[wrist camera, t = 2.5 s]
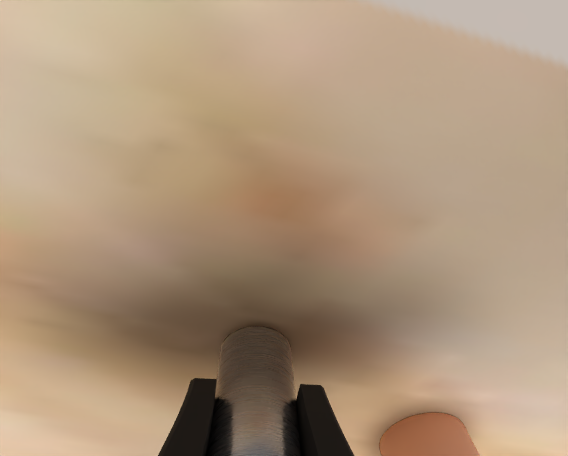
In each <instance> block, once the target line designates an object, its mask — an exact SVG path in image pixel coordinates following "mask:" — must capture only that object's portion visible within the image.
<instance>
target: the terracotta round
mask: <svg viewBox="0 0 568 456" xmlns="http://www.w3.org/2000/svg"><path fill="white" fill-rule="evenodd" d="M379 448H380V452H381V455H382V456H480V455H479V453H478V451H477V449H476V447H475V446H474V444H473V442H472V440H471V438H470V436H469V434H468V432H467V430H466V428H465V426H464V424H463V423H462V422H461V421H460V420H459V419H458V418H456V417H454V416H452V415H449V414H444V413H423V414H418V415H414V416H411V417H408V418H405V419H403V420H401V421H399V422H397V423H396V424H394V425H393V426H391V427H390V428H389V429H388V430H387V431H386V432H385V433H384V434H383V436H382V438H381V440H380V444H379Z"/></svg>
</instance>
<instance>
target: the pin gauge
mask: <svg viewBox="0 0 568 456" xmlns="http://www.w3.org/2000/svg"><path fill="white" fill-rule="evenodd" d="M207 456H301V449H300V439H299V428H298V417H297V407H296V396H295V386H294V375H293V364H292V354H291V346H290V344H289V342H288V340H287V339H286V338H285V337H284V336H283V335H282V334H281V333H279V332H278V331H275V330H273V329H270V328H266V327H256V326H255V327H247V328H243V329H240V330H237V331H235V332H233V333H232V334H231V335H229V336H228V337H227V338H226V339H225V340H224V342H223V344H222V346H221V350H220V358H219V366H218V373H217V383H216V393H215V402H214V410H213V418H212V426H211V434H210V439H209V445H208V452H207Z"/></svg>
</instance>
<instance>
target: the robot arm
mask: <svg viewBox="0 0 568 456" xmlns="http://www.w3.org/2000/svg"><path fill="white" fill-rule="evenodd" d="M216 383H217V379H200V378H195V379H193V380H191V382H190V385H189V389H188V392H187V394H186V397H185V400H184V402H183V405H182V407H181V409H180V412H179V414H178V416H177V418H176V421H175V423H174V425H173V427H172V429H171V431H170V433H169V435H168V437H167V439H166V441H165V443H164V445H163V447H162V449H161V451H160V453H159V455H158V456H207V452H208V445H209V439H210V434H211V426H212V418H213V410H214V402H215V393H216ZM296 407H297V417H298V428H299V439H300V449H301V456H354V454H353V452H352V450H351V448H350V446H349V444H348V442H347V440H346V438H345V436H344V434H343V432H342V430H341V428H340V426H339V423H338V421H337V419H336V417H335V415H334V412H333V410H332V408H331V405H330V403H329V401H328V398H327V396H326V393H325V391H324V388H323V387H322V386H321V385H306V384H300V388H299V392H298V395H297V399H296Z"/></svg>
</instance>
